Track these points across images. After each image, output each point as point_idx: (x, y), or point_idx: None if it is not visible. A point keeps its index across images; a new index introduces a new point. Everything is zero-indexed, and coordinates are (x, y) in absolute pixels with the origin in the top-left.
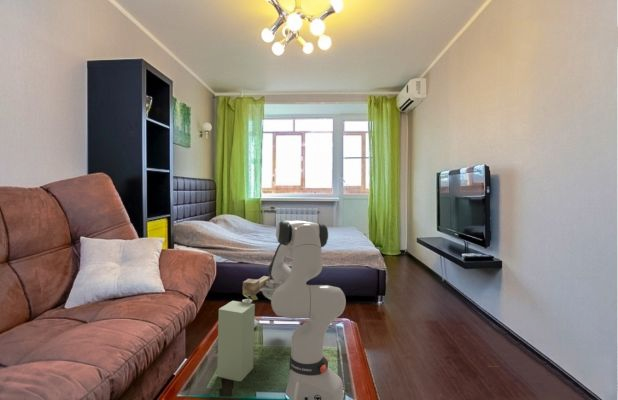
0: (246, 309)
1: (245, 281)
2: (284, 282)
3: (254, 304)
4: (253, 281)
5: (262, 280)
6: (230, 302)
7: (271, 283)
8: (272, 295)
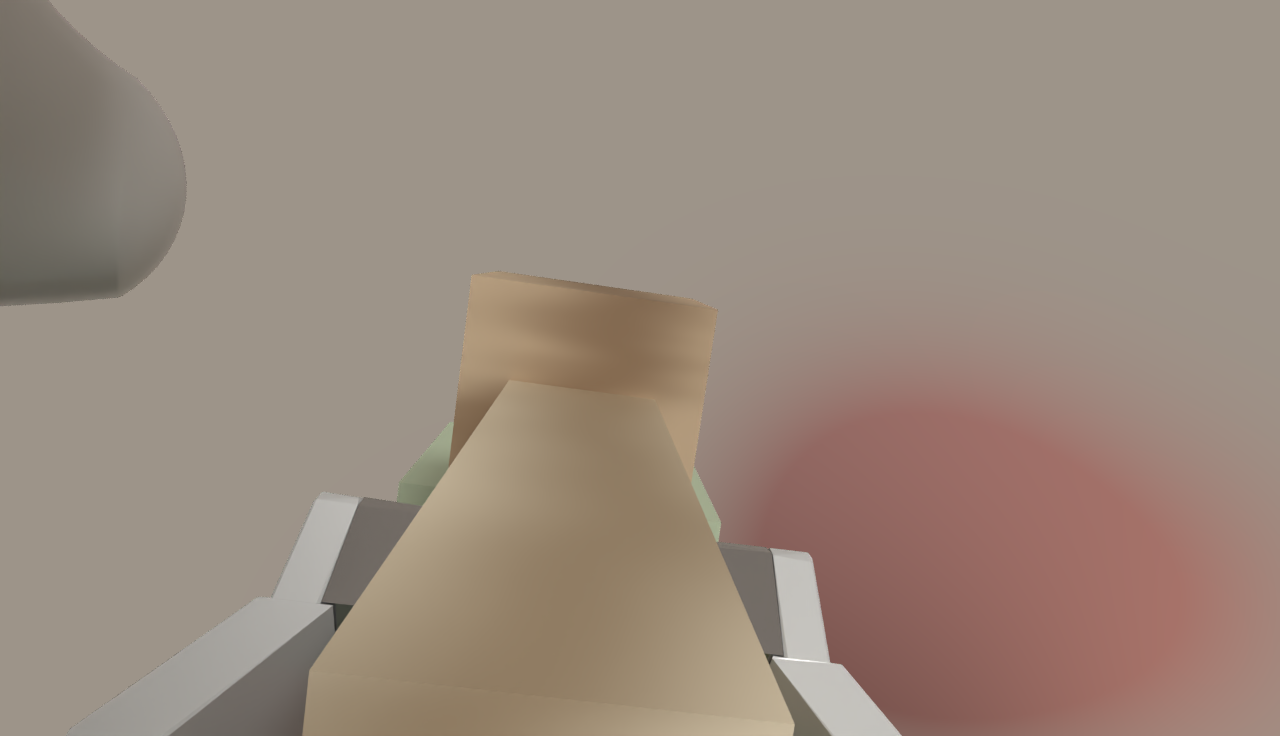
0: (442, 441)
1: (670, 296)
2: (72, 26)
3: (401, 482)
4: (547, 281)
5: (505, 448)
6: (701, 503)
7: (151, 710)
8: (180, 148)
